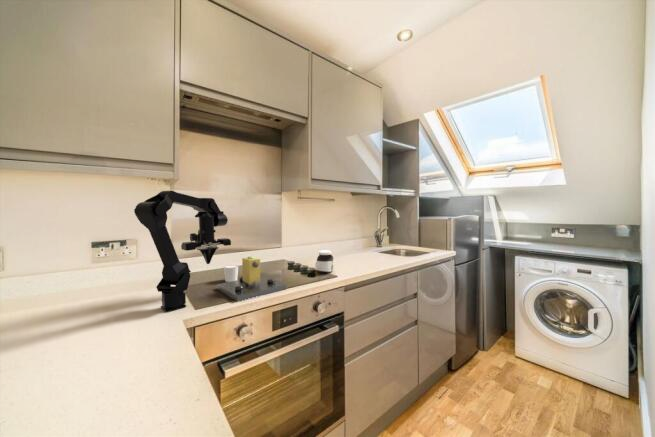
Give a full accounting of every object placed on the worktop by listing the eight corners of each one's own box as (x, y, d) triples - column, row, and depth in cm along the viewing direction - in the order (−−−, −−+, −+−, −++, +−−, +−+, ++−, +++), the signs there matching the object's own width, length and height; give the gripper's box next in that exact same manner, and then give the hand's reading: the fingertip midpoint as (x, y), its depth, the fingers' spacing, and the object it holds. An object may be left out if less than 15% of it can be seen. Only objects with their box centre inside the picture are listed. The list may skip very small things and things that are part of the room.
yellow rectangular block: (250, 286, 107) (250, 259, 106) (241, 281, 113) (241, 256, 113) (261, 283, 110) (261, 257, 110) (251, 279, 117) (251, 254, 116)
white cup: (233, 282, 122) (233, 268, 121) (220, 282, 123) (220, 267, 123) (241, 278, 128) (240, 265, 128) (229, 278, 130) (228, 264, 130)
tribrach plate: (237, 301, 96) (237, 289, 96) (217, 288, 112) (216, 278, 112) (286, 289, 111) (286, 278, 111) (262, 279, 127) (261, 270, 127)
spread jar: (326, 275, 134) (326, 253, 133) (309, 272, 139) (308, 251, 139) (337, 270, 144) (337, 250, 144) (320, 268, 150) (320, 248, 149)
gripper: (219, 225, 120) (220, 258, 120) (175, 228, 106) (177, 265, 107) (231, 226, 112) (232, 261, 113) (185, 229, 98) (187, 269, 99)
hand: (208, 263), depth 108 cm, fingers closed
